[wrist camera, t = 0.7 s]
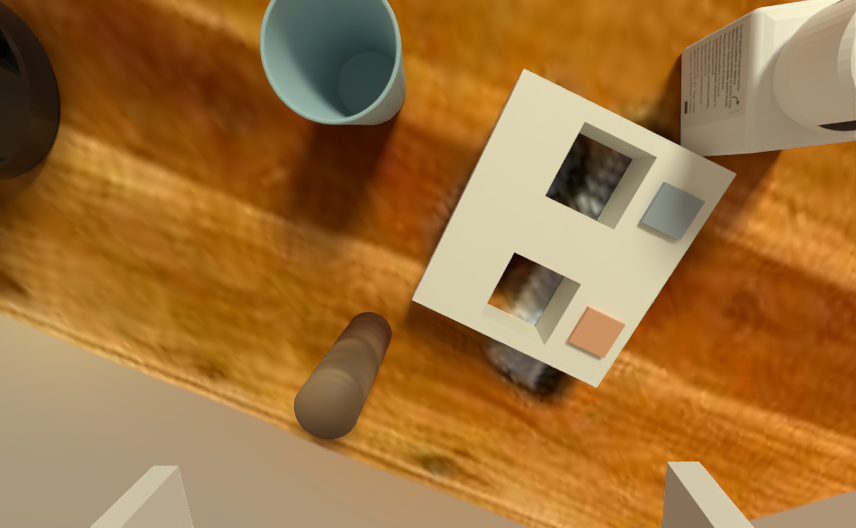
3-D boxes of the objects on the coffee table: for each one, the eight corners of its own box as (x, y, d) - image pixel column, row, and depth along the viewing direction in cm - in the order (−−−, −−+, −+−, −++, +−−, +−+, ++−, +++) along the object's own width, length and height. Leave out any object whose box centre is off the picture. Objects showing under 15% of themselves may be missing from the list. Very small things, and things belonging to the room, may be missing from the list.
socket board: (417, 285, 35) (411, 301, 30) (516, 82, 30) (525, 67, 26) (581, 363, 35) (598, 390, 31) (701, 173, 31) (740, 173, 26)
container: (794, 32, 28) (1067, -83, 15) (787, 145, 30) (1027, 124, 17) (679, 49, 29) (849, -46, 16) (678, 158, 31) (830, 148, 18)
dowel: (341, 342, 36) (284, 421, 25) (358, 304, 35) (307, 369, 24) (381, 360, 36) (343, 449, 25) (398, 323, 35) (368, 398, 24)
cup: (441, 80, 31) (430, 34, 21) (380, 159, 32) (343, 153, 22) (364, 12, 30) (313, -69, 20) (306, 97, 32) (233, 61, 22)
